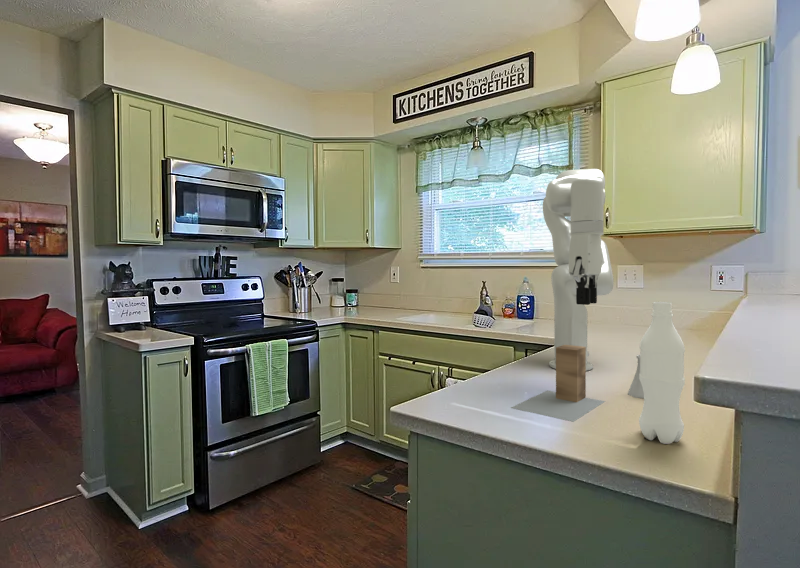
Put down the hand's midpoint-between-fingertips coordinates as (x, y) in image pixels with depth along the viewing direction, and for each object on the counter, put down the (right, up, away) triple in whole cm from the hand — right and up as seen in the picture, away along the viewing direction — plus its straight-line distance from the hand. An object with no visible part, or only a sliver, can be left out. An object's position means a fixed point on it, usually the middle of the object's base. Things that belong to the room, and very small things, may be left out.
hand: (586, 303), depth 115 cm
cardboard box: (-6, -22, -6) cm, 24 cm away
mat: (-11, -23, -11) cm, 27 cm away
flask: (+12, -23, -4) cm, 26 cm away
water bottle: (+2, -24, -30) cm, 38 cm away
